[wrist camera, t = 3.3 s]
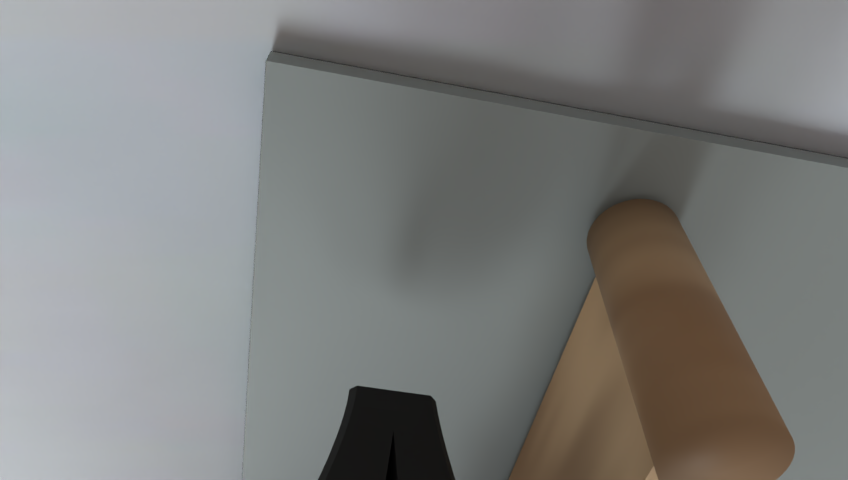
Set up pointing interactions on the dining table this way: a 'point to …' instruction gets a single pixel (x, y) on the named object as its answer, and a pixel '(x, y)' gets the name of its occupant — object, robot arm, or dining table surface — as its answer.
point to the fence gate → (653, 371)
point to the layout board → (510, 259)
